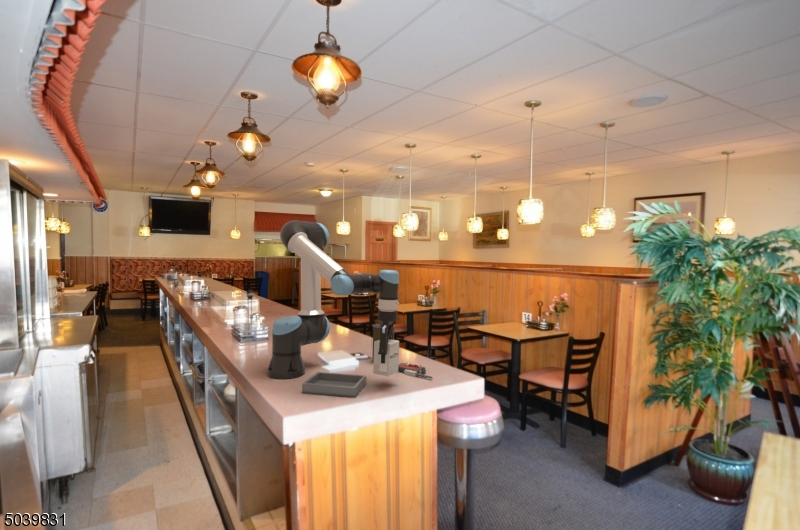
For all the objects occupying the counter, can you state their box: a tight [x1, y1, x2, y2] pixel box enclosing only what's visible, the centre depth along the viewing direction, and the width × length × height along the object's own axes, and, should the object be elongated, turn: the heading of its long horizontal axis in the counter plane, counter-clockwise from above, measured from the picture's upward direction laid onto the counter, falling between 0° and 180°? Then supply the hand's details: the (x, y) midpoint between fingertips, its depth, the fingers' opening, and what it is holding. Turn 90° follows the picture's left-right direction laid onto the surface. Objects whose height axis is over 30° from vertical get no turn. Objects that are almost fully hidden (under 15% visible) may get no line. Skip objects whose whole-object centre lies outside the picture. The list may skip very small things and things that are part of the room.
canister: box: [370, 320, 395, 363], centre depth 192 cm, size 11×10×20 cm
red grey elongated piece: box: [398, 361, 433, 380], centre depth 175 cm, size 9×4×20 cm
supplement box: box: [372, 339, 400, 378], centre depth 158 cm, size 7×7×13 cm
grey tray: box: [301, 371, 367, 399], centre depth 154 cm, size 20×15×4 cm
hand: (385, 367), depth 159 cm, fingers closed on supplement box, 9 cm apart
